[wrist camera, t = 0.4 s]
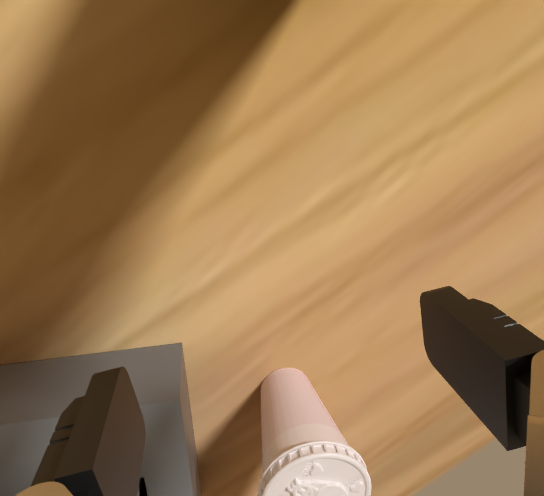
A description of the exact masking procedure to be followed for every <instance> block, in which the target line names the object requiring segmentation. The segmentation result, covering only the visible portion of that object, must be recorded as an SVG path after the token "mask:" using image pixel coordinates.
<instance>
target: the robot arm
mask: <svg viewBox="0 0 544 496" xmlns="http://www.w3.org/2000/svg"><path fill="white" fill-rule="evenodd" d="M420 306H421V317H422V327H423V338H424V346H425V350H426V353H427V356H428V358H429V360H430V362H431V363H432V365H433V366H434V367H435V368H436V370H437V371H438V372H439V373H440V374H441V375H442V377H443V378H444V379H445V380H446V381H447V382H448V383H449V385H450V386H451V387H452V388H453V389H454V390H455V391H456V393H457V394H458V395H459V396H460V397H461V398H462V399H463V401H464V402H465V403H466V404H467V405H468V406H469V407H470V409H471V410H472V411H473V412H474V413H475V414H476V415H477V417H478V418H479V419H480V420H481V421H482V422H483V423H484V425H485V426H486V427H487V428H488V429H489V430H490V431H491V433H492V434H493V435H494V436H495V437H496V438H497V439H498V441H499V442H500V443H501V444H502V445H503V446H504V447H505V449H506V450H507V451H509V450H513V449H517V448H520V447H523V446H526V461H525V482H524V496H544V341H543V340H541V339H540V338H539V337H537V336H536V335H534V334H533V333H532V332H530V331H529V330H527V329H526V328H524V327H523V326H522V325H520V324H517V322H516V321H515V320H513V319H512V318H510V317H509V316H506V314H505V313H503V312H502V311H500V310H499V309H498V308H496V307H495V306H493V305H492V304H489V303H486V302H483V301H480V300H477V299H470V300H468V299H467V298H466V297H464V296H463V295H462V294H460V293H459V292H458V291H456V290H455V289H454V288H452V287H451V286H446V287H442V288H438V289H434V290H430V291H426V292H423V293H422V294H421V296H420ZM145 440H146V431H145V423H144V418H143V415H142V412H141V409H140V406H139V403H138V400H137V397H136V394H135V392H134V389H133V386H132V383H131V380H130V377H129V374H128V372H127V370H126V368H125V367H123V366H122V367H118V368H114V369H110V370H106V371H102V372H98V373H94V374H93V375H92V378H91V380H90V383H89V386H88V388H87V391H86V394H85V396H82V397H78V398H75V399H74V400H73V401H72V402H71V404H70V405H69V406H68V407H67V408H66V409H65V410H64V411H63V412H62V413H61V416H60V418H59V420H58V423H57V425H56V427H55V432H53V434H52V437H51V439H50V445H48V446H47V449H46V451H45V453H44V456H43V458H42V460H41V463H40V465H39V467H38V470H37V472H36V474H35V477H34V479H33V482H32V484H31V486H30V487H29V488H27V489H25V490H23V491H22V492H20V493H19V494H17V495H16V496H137V495H138V488H139V481H140V475H141V468H142V461H143V454H144V448H145Z"/></svg>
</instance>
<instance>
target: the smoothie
mask: <svg viewBox="0 0 544 496" xmlns="http://www.w3.org/2000/svg"><path fill="white" fill-rule="evenodd" d="M260 392H261V427H262V469H263V475H262V477H261V480H260V482H259V487H258V496H370V495H371V479H370V476H369V474H368V472H367V468H366V464H365V463H364V461H363V459H362V457H361V455H359V454H358V453H357V452H356V451H355V450H354V449H353V448H351V447H349V445H348V444H347V442H346V440H345V439H344V437H343V436H342V434H341V432H340V431H339V429H338V427H337V426H336V424H335V423H334V421H333V419H332V418H331V416H330V414H329V413H328V411H327V409H326V408H325V406H324V404H323V403H322V401H321V400H320V398H319V396H318V395H317V393H316V391H315V390H314V388H313V386H312V385H311V383H310V381H309V380H308V378H307V377H306V375H305V374H304V373H303V372H301V371H300V370H297V369H294V368H282V369H278V370H276V371H274V372H272V373H271V374H269V375H268V376H267V377H266V378H265V380H264V381H263V383H262V385H261V390H260Z"/></svg>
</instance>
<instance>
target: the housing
mask: <svg viewBox="0 0 544 496" xmlns="http://www.w3.org/2000/svg"><path fill="white" fill-rule="evenodd" d="M122 366H123V367H125V368H126V370H127V372H128V374H129V377H130V380H131V383H132V386H133V389H134V392H135V394H136V397H137V400H138V403H139V406H140V409H141V412H142V415H143V418H144V423H145V431H146V440H145V448H144V454H143V461H142V468H141V475H140V478H143V477H144V479H145V485H146V490H147V495H148V496H202V493H201V485H200V477H199V470H198V462H197V455H196V447H195V439H194V432H193V424H192V416H191V409H190V401H189V394H188V386H187V378H186V371H185V363H184V356H183V348H182V343H176V344H168V345H160V346H152V347H144V348H136V349H128V350H120V351H111V352H103V353H95V354H87V355H79V356H71V357H63V358H55V359H46V360H38V361H30V362H22V363H14V364H6V365H0V496H16V495H17V494H19V493H20V492H22V491H23V490H25V489H27V488H29V487H30V486H31V484H32V482H33V479H34V477H35V474H36V472H37V470H38V467H39V465H40V463H41V460H42V458H43V456H44V453H45V451H46V449H47V446H48V445H50V439H51V437H52V434H53V432H55V427H56V425H57V423H58V420H59V418H60V416H61V413H62V412H63V411H64V410H65V409H66V408H67V407H68V406H69V405H70V404H71V402H72V401H73V400H74V399H75V398H78V397H82V396H85V394H86V391H87V388H88V386H89V383H90V380H91V378H92V375H93V374H94V373H98V372H102V371H106V370H110V369H114V368H118V367H122Z"/></svg>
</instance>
